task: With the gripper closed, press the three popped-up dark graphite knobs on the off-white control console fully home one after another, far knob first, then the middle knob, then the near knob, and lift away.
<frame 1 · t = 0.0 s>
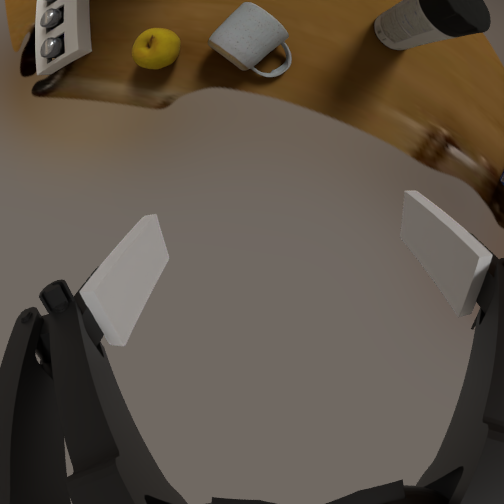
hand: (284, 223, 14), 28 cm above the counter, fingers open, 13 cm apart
console: (67, 21, 25), on the counter
ceramic mug: (256, 47, 31), on the counter
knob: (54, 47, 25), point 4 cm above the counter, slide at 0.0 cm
spray can: (391, 32, 27), on the counter
apple: (166, 52, 31), on the counter
knob mid: (53, 18, 21), point 4 cm above the counter, slide at 0.0 cm
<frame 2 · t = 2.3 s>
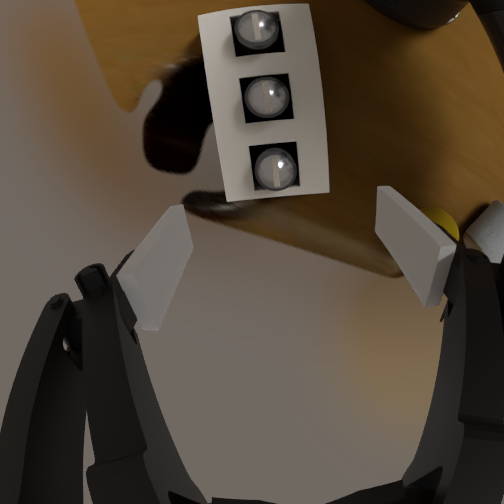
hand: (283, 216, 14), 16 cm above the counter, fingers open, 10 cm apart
console: (266, 99, 25), on the counter
ceramic mug: (481, 230, 30), on the counter
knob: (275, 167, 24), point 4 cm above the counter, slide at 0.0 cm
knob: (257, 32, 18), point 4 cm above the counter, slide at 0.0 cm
apple: (417, 218, 31), on the counter
knob mid: (266, 97, 21), point 4 cm above the counter, slide at 0.0 cm
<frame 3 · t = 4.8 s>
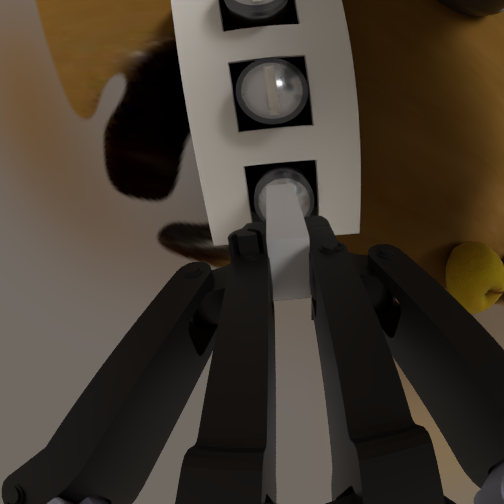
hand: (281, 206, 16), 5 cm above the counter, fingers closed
console: (270, 94, 17), on the counter
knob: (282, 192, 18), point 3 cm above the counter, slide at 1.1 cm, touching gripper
apple: (455, 253, 23), on the counter
knob mid: (271, 92, 13), point 4 cm above the counter, slide at 0.0 cm
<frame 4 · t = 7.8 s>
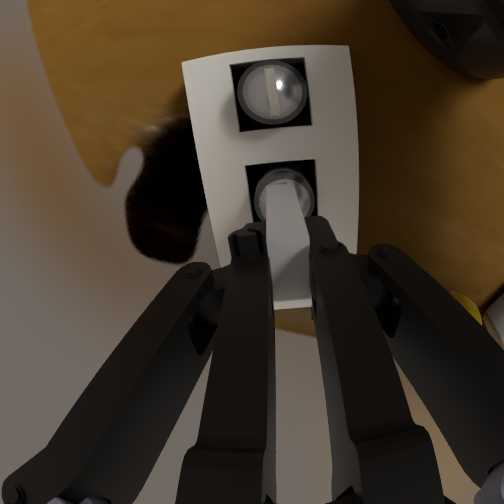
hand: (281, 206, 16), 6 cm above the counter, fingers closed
console: (280, 178, 21), on the counter
ceramic mug: (501, 302, 27), on the counter
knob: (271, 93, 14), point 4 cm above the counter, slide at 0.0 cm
apple: (439, 299, 26), on the counter
knob mid: (283, 193, 18), point 4 cm above the counter, slide at 0.7 cm, touching gripper
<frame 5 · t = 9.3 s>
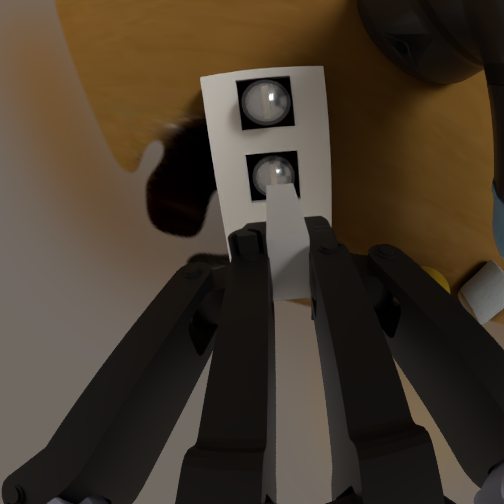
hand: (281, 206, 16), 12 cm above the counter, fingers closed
console: (272, 167, 26), on the counter
ceramic mug: (476, 283, 33), on the counter
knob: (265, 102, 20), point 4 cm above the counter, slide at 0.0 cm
apple: (412, 273, 32), on the counter
knob mid: (273, 172, 24), point 2 cm above the counter, slide at 1.9 cm
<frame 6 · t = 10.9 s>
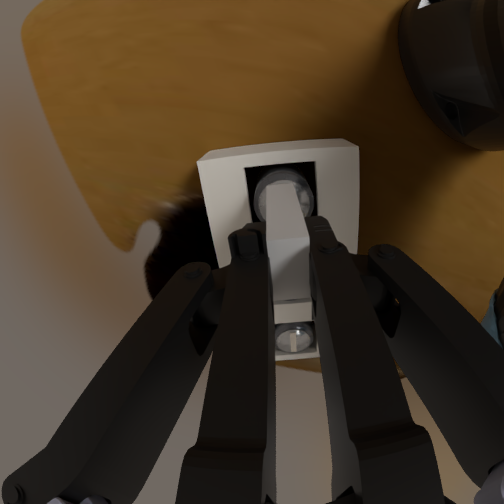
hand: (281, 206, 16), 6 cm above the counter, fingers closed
console: (287, 253, 24), on the counter
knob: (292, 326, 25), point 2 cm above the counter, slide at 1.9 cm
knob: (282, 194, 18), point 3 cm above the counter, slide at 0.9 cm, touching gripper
knob mid: (288, 269, 22), point 2 cm above the counter, slide at 1.9 cm
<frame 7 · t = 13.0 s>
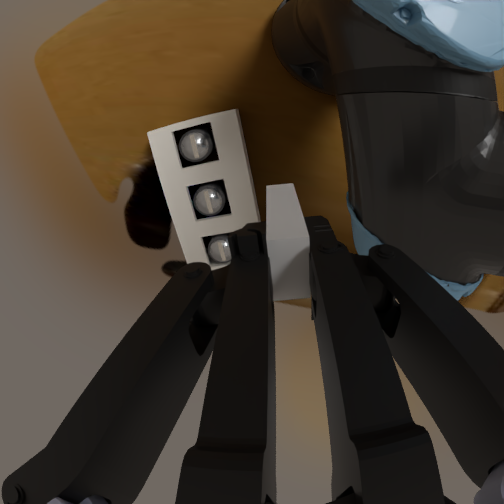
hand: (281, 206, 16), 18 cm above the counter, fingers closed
console: (214, 190, 34), on the counter
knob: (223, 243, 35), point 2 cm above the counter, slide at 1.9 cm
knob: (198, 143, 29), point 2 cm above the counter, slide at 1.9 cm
knob mid: (211, 196, 32), point 2 cm above the counter, slide at 1.9 cm
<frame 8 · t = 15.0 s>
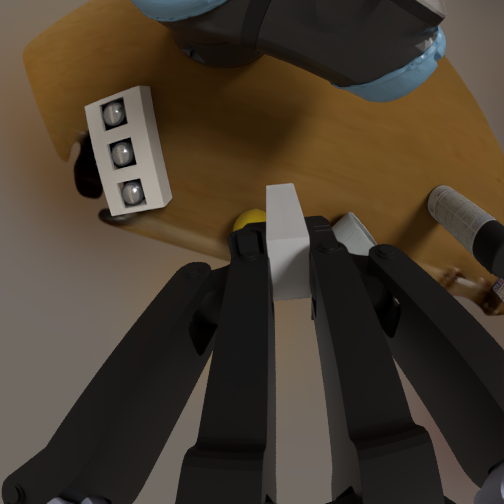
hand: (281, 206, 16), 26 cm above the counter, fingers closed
console: (132, 149, 39), on the counter
ceramic mug: (346, 237, 46), on the counter
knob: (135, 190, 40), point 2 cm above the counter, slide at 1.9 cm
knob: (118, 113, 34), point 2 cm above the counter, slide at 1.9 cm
spray can: (439, 201, 41), on the counter
apple: (255, 218, 45), on the counter
knob mid: (126, 152, 37), point 2 cm above the counter, slide at 1.9 cm
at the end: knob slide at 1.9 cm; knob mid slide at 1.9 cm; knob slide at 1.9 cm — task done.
